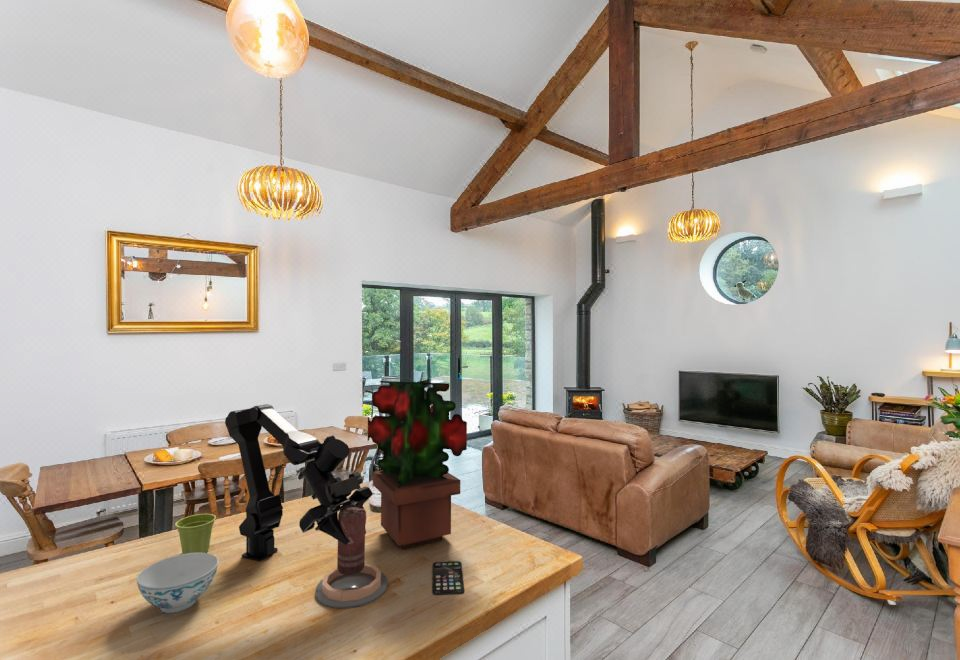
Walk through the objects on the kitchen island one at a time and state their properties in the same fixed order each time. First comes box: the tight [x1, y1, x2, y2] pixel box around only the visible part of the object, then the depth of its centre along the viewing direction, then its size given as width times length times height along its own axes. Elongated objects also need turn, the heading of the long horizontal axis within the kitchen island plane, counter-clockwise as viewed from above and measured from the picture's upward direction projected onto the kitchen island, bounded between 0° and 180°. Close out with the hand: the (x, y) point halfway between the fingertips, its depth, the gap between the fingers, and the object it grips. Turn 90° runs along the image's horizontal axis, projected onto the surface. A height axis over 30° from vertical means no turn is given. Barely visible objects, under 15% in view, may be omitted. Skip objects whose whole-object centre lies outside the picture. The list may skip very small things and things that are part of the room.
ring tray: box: [315, 563, 388, 609], centre depth 109 cm, size 16×16×3 cm
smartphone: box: [431, 560, 465, 596], centre depth 114 cm, size 7×1×15 cm
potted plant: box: [367, 378, 468, 550], centre depth 137 cm, size 22×22×45 cm
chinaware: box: [136, 552, 219, 614], centre depth 103 cm, size 15×15×8 cm
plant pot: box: [174, 513, 217, 554], centre depth 126 cm, size 9×9×9 cm
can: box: [336, 505, 367, 575], centre depth 109 cm, size 6×6×14 cm
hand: (356, 538), depth 109 cm, fingers closed on can, 5 cm apart
